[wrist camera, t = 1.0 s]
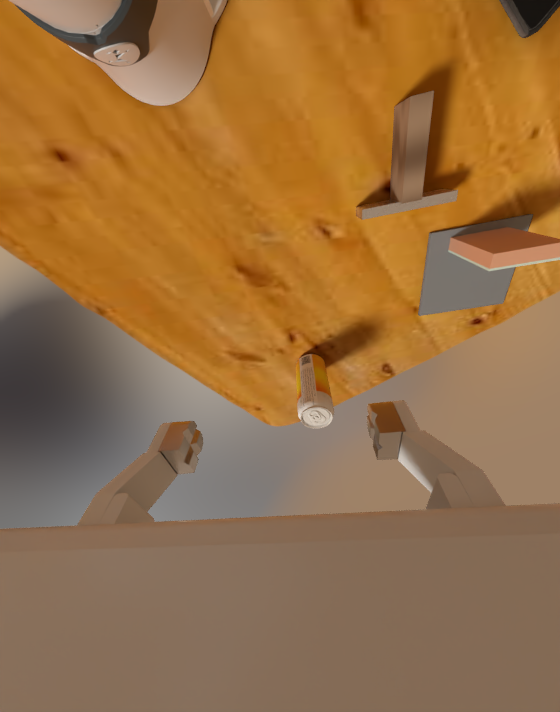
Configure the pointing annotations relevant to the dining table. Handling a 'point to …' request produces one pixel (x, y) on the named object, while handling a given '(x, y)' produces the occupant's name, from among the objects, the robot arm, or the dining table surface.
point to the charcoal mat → (463, 272)
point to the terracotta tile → (505, 248)
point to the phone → (529, 14)
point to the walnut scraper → (409, 161)
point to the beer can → (313, 392)
